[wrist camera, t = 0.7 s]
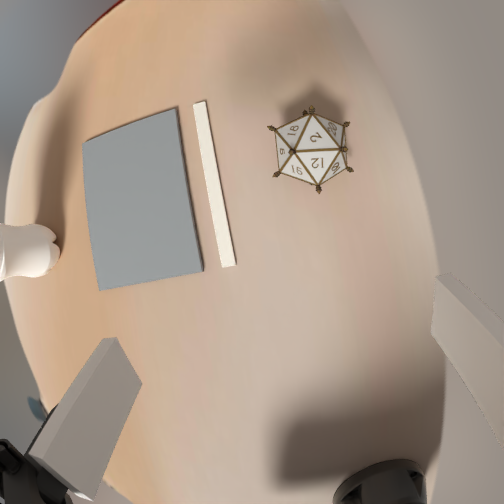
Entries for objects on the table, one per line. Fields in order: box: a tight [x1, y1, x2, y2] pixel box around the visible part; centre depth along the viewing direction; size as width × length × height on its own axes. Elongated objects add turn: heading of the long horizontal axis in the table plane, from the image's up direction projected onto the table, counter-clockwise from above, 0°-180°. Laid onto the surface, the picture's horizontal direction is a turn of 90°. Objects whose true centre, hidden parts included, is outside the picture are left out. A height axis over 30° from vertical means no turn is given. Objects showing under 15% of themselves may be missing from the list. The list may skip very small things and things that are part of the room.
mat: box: [82, 109, 204, 291], centre depth 34 cm, size 20×14×1 cm
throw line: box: [193, 101, 236, 268], centre depth 33 cm, size 20×2×1 cm, turn 12°
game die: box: [267, 105, 354, 194], centre depth 28 cm, size 9×8×10 cm
